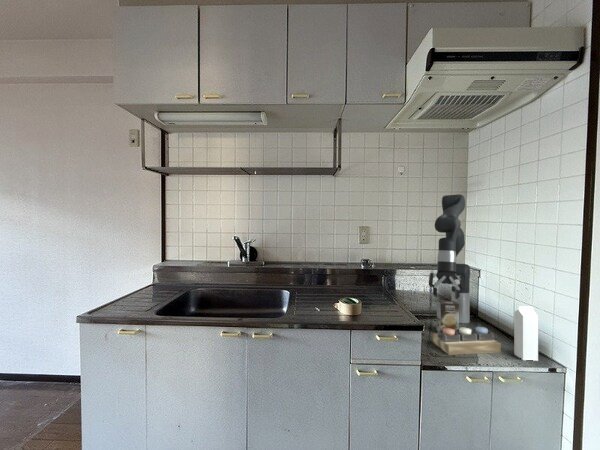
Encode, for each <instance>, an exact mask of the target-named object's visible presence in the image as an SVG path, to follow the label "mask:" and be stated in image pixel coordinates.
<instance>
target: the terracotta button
mask: <svg viewBox="0 0 600 450" xmlns="http://www.w3.org/2000/svg"><path fill="white" fill-rule="evenodd" d="M443 334H445V335H455V330H453V329H451V328H443Z"/></svg>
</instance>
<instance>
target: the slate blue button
mask: <svg viewBox="0 0 600 450" xmlns="http://www.w3.org/2000/svg"><path fill="white" fill-rule="evenodd" d="M474 329H475V331H476V332H477V333H479V334H488V331H489V330H488V328H487V327H483V326H475V327H474Z"/></svg>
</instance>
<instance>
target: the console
mask: <svg viewBox="0 0 600 450" xmlns="http://www.w3.org/2000/svg"><path fill="white" fill-rule="evenodd" d="M470 329H471V334H466V335H463V334H461V333H460V332H459V329H457V330H455V335H445V334H443V330H438V331H437V333H432V343H433V344H434V345H435V346H437V347H438V348H440V349H441V351H443V352H445V353H446V354H447V355H449V356H451V355H452V356H453V355H474V354H475V355H476V354H477V355H478V354H494V353H495V354H497V353H499V354H500V353H502V349H501V348H502V343H501V342H499V341H497V340H496V339H494V337H495V336H494V335H495V334H494V333H493V332H491V331H489V330H488V334H479V333H477V332H476V331H475V328H470Z"/></svg>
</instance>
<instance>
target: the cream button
mask: <svg viewBox="0 0 600 450" xmlns="http://www.w3.org/2000/svg"><path fill="white" fill-rule="evenodd" d="M471 329H472V328H469V327H465V326H464V327H463V326H462V327H460V326H459V332H460V333H461V334H463V335H466V334H471Z"/></svg>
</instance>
